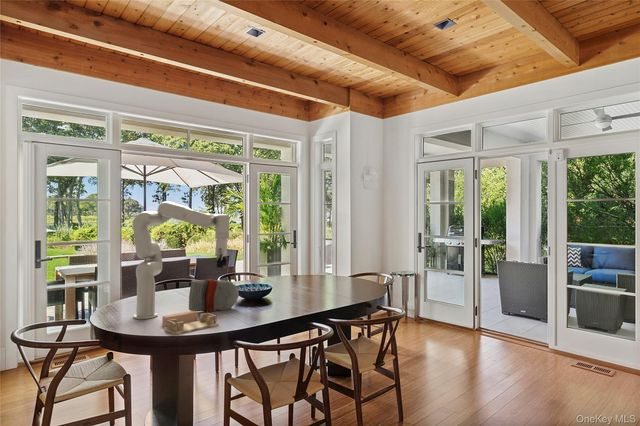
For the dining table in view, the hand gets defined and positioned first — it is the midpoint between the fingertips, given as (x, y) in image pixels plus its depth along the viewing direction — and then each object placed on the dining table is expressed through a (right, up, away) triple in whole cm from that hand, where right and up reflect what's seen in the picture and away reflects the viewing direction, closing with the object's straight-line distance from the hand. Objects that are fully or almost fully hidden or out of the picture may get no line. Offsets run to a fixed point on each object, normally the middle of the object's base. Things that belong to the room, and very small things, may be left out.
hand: (221, 266), depth 221 cm
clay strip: (-20, -30, -8) cm, 37 cm away
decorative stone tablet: (-9, -30, +20) cm, 37 cm away
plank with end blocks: (-11, -30, -17) cm, 36 cm away
